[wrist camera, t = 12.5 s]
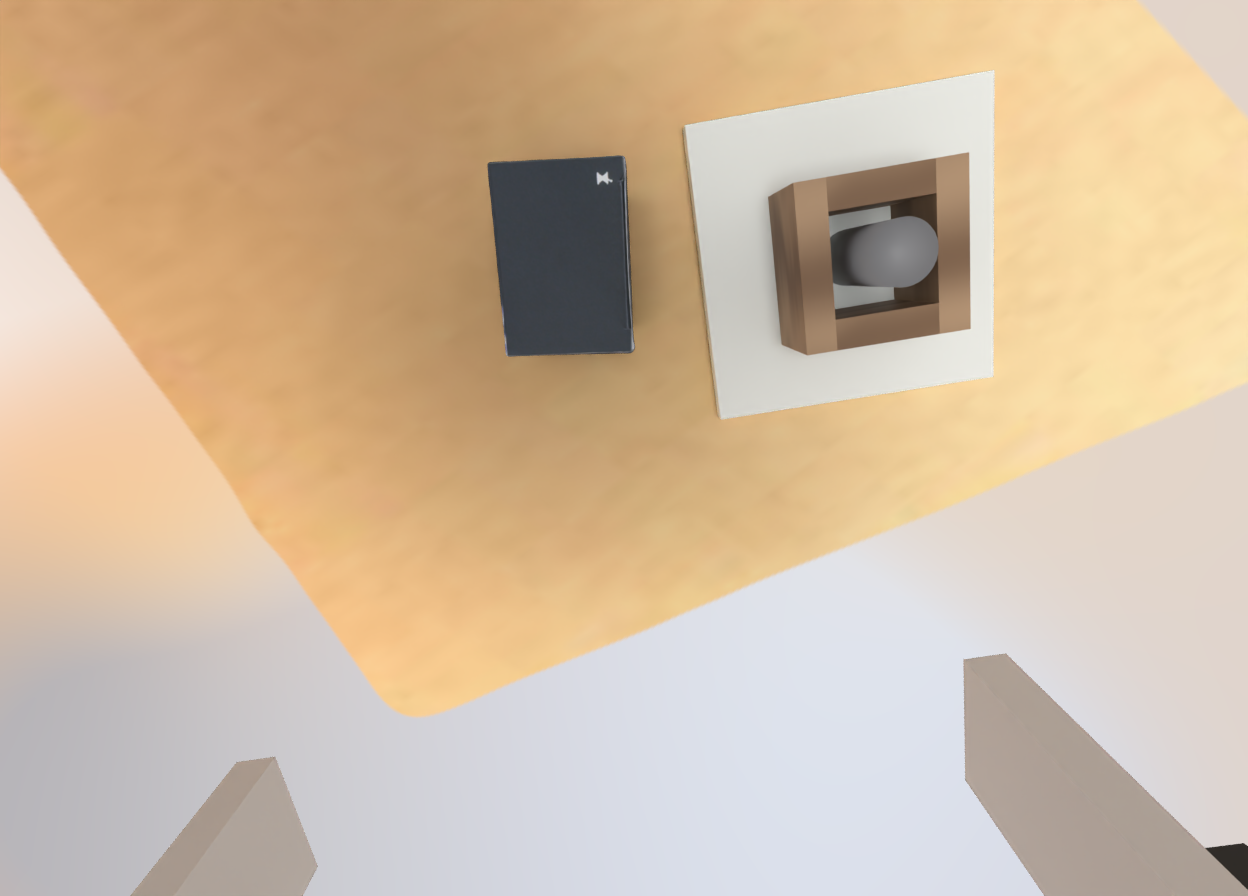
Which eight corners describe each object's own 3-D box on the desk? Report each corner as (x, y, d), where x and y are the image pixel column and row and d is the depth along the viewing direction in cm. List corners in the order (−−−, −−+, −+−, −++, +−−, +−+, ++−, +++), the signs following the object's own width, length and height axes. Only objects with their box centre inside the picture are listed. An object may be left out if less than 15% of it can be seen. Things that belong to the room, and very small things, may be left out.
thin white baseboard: (682, 130, 33) (701, 83, 25) (980, 77, 32) (1097, 11, 24) (717, 415, 37) (743, 452, 29) (981, 373, 36) (1081, 399, 28)
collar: (767, 196, 33) (793, 182, 28) (917, 170, 32) (969, 152, 27) (781, 344, 35) (807, 355, 30) (921, 321, 34) (970, 328, 30)
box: (526, 194, 34) (484, 157, 23) (627, 189, 34) (629, 151, 23) (537, 336, 36) (503, 359, 26) (632, 332, 36) (636, 354, 26)
